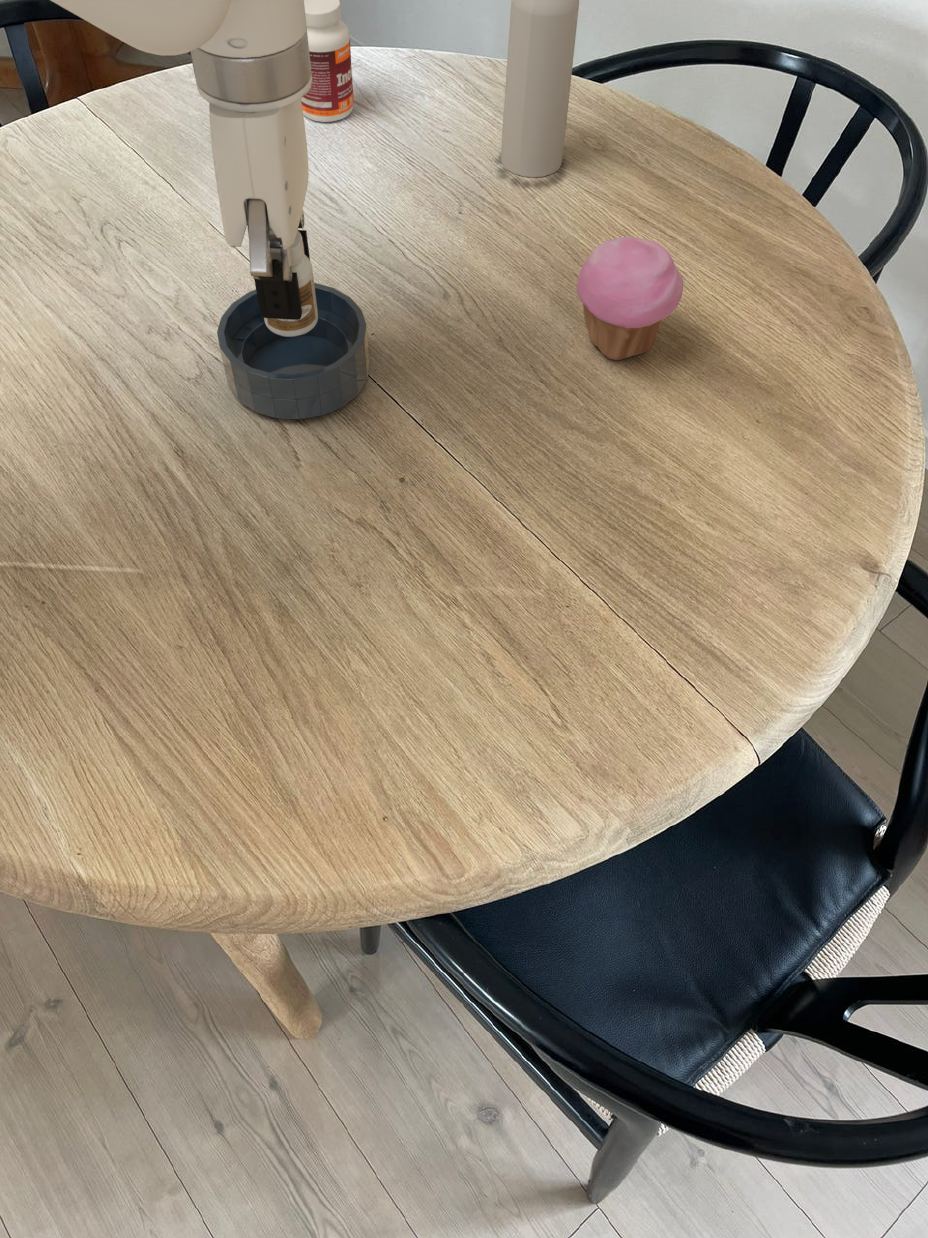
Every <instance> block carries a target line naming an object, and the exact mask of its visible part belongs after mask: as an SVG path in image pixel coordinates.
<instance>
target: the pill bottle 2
mask: <svg viewBox="0 0 928 1238" xmlns="http://www.w3.org/2000/svg"><path fill="white" fill-rule="evenodd" d="M304 6H305V16H306V26H307V35H308V45H309V55H310V64H311V75H312V84H311V88H310V89H309V91H308V92H307V94H305V95H304V96H303V97H302V98H301V103H302V110H303V116H304V117H306V118H307V119H310V120H312V121H314V122H321V123H329V122H331V123H332V122H336V121H340V120H343V119H345V118H347V117H348V116H350V115H351V113H352V112H353V110H354V106H355V105H354V104H355V102H354V101H355V100H354V99H355V98H354V84H353V83H354V82H353V69H352V68H353V67H352V52H351V37H350V31H349V28H348V26H347V24H346V23H345V22H344V21H343V20H341V19H342V9H341V8H342V7H341V1H340V0H304Z"/></svg>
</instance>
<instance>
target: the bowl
mask: <svg viewBox="0 0 928 1238" xmlns="http://www.w3.org/2000/svg"><path fill="white" fill-rule="evenodd" d="M314 286H315V295H316V303H317V312H318V320H317V323H316V325H315V326H314V328H313V329H311V330H310V331H309V332H307V333H305V334H302V335H299V336H293V337H286V336H281V335H278V334H275V333H273V332H272V331H271V330H269V328H268V327H267V326H266V324H265V321H264V317H262V316H261V314H260V308H259V303H258V297H257V292H256V288H254V289H253V290H251V291H248V292H247V293H245V294H244V295H242V296H241V297H239V298H238V299H235V301H233V302H232V303H231V304H230V305H229V307H228V308H227V309H226V310H225V311H224V313H223V314H222V315H221V317H220V320H219V324H218V327H217V330H216V335H217V341H218V345H219V350H220V354H221V359H222V364H223V367H224V371H225V376H226V380H227V385H228V388H229V390H230V391H231V392H232V394H233V395H234V396H235V397H236V399H237V400H238V401H239V403H241V404H243V405H244V406H245V407H247V408H249V409H250V410H252V411H253V412H255V413H257V414H260V415H261V414H262V415H264V416H268V417H270V418H274V419H285V420H287V419H288V420H303V419H304V420H305V419H309V418H315V417H320V416H324V415H328V414H329V413H331V412H334V411H336V410H339V409H341V408H343V407H344V406H345V405H347V404H348V403H349V402H351V401H352V400H353V399H354V398H356V397H357V396H358V395H359V393H360V392H361V390H362V389H363V387H364V386H365V384H366V383H367V382H368V378H369V371H370V352H369V351H370V350H369V339H368V337H369V336H368V324H367V322H366V318H365V315H364V313H363V310H362V309H361V307H360V306H359V305H358V304H357V302H355V301H354V299H352V297H351V296H349V295H347V294H346V293H344V292H342V291H341V290H338V289H336V288H334V287H332V286H328V285H325V284H321V283H317V282H314Z"/></svg>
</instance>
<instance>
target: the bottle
mask: <svg viewBox="0 0 928 1238" xmlns="http://www.w3.org/2000/svg"><path fill="white" fill-rule="evenodd" d="M510 1H511V2H510V15H509V16H510V17H509V29H508V45H507V58H506V73H505V74H506V75H505V87H504V100H503V102H504V103H503V115H502V131H501V148H500V149H501V151H500V162H501V165H502V166H503V167H504V168H505V169H506V170H507V171H509V172H511V173H512V174H514V175H518V176H520V177H524V178H526V177H529V178H543V177H547V176H551V175H552V174H554V173H556V172H557V171H559V169H560V168H561V166H562V163H563V156H564V155H563V154H564V147H565V138H566V131H567V121H568V113H569V103H570V94H571V83H572V74H573V65H574V55H575V47H576V46H575V45H576V37H577V26H578V17H579V8H580V0H510Z"/></svg>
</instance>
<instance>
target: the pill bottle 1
mask: <svg viewBox="0 0 928 1238" xmlns="http://www.w3.org/2000/svg"><path fill="white" fill-rule="evenodd" d="M298 230H299V229H298ZM298 230H297V234H296V238H295V241H294V243H293V244H292V245H291V246H290V251H291V262H292V272H296V273H297V278H298V285H299V292H300V299H301V307H302V316H301V318H300V319H299V320H291V319H272V318H264V321H265V324H266V326H267V327H268V328H269V330H271V331H272V332H273V333H275V334H278V335H281V336H286V337H293V336H299V335H302V334H305V333H307V332H309V331H310V330H311V329H313V328H314V326H315V325H316V323H317V320H318V312H317V303H316V295H315V286H314V283H315V278H314V269H313V265H312V262H311V259H310V260H309V258H308V257H307V256H306V255H305V254H304V246H303V240H302V236H301V233H300V232H299V231H298ZM270 234H272V235H275V234H274V232H273V231H270ZM270 256H271V259H278V260H279V261H280V262H281V253H280V249H275V248H270Z"/></svg>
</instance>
